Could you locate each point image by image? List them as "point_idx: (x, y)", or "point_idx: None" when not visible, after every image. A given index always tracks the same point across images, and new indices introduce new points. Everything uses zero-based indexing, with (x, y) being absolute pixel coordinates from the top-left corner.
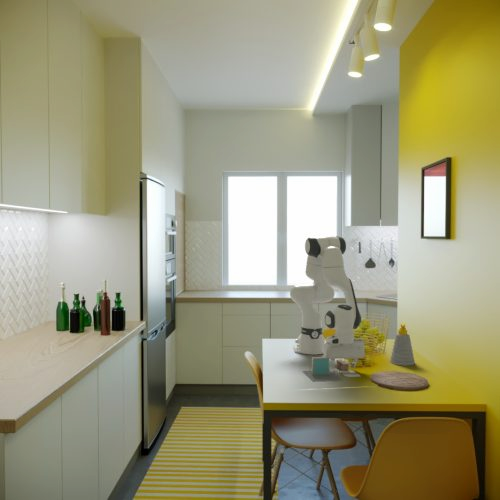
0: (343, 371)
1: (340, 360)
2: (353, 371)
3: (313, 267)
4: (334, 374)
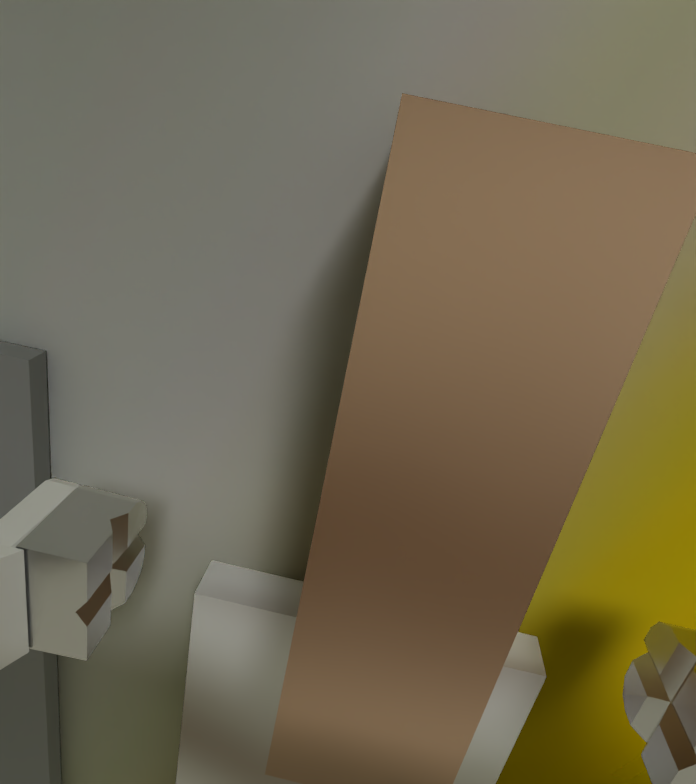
0: (275, 656)
1: (545, 269)
2: (499, 731)
3: None
4: (32, 669)
